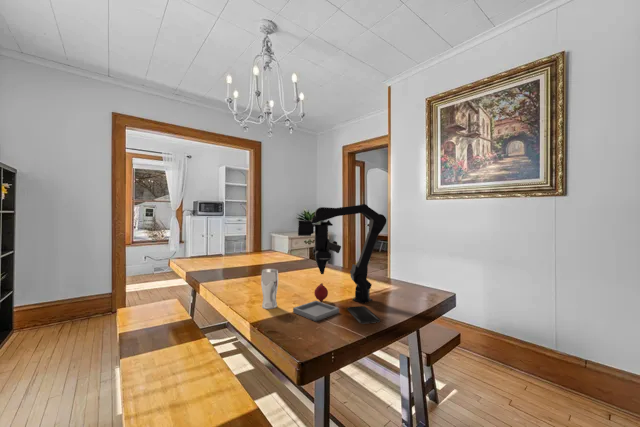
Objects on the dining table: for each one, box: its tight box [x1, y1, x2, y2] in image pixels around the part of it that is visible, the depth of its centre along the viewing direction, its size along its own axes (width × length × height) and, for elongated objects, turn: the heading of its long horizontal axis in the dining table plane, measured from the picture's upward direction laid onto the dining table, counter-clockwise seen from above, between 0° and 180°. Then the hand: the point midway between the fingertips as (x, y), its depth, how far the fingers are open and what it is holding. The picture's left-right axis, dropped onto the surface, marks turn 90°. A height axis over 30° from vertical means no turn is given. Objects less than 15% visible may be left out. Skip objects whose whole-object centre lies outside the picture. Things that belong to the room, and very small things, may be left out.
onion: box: [313, 282, 329, 302], centre depth 122 cm, size 6×6×8 cm
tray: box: [292, 300, 340, 322], centre depth 108 cm, size 13×13×2 cm
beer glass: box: [260, 268, 279, 310], centre depth 114 cm, size 7×7×15 cm
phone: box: [346, 305, 381, 325], centre depth 106 cm, size 8×1×15 cm
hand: (321, 271), depth 121 cm, fingers open, 9 cm apart
